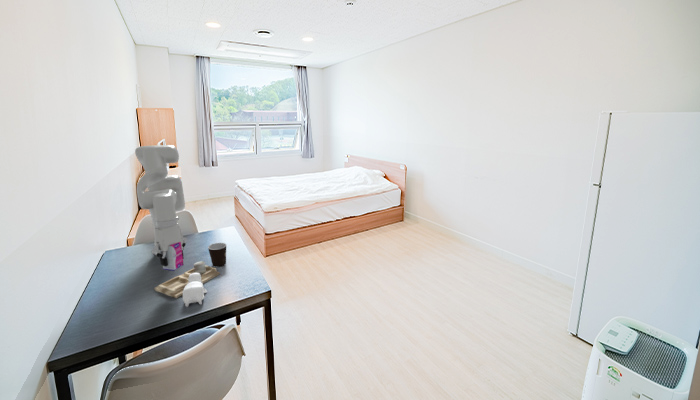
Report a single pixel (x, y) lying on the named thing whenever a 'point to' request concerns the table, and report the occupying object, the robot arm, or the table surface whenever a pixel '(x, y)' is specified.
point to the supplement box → (174, 257)
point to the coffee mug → (218, 254)
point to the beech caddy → (186, 280)
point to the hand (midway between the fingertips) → (172, 261)
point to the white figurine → (194, 290)
